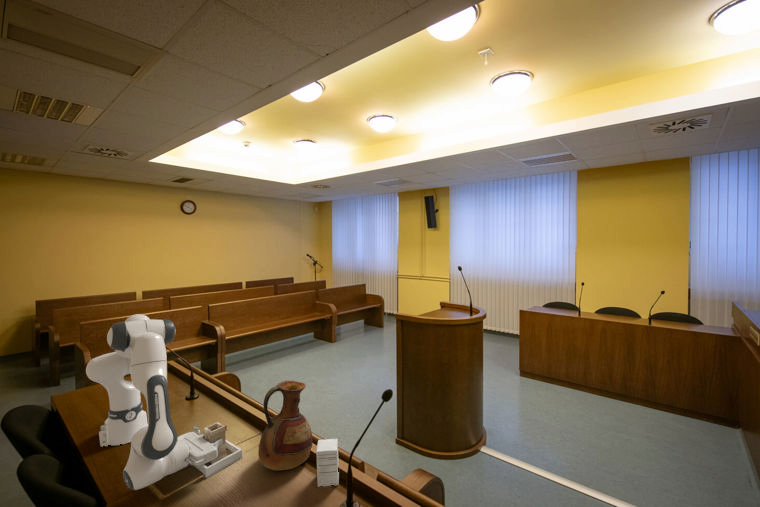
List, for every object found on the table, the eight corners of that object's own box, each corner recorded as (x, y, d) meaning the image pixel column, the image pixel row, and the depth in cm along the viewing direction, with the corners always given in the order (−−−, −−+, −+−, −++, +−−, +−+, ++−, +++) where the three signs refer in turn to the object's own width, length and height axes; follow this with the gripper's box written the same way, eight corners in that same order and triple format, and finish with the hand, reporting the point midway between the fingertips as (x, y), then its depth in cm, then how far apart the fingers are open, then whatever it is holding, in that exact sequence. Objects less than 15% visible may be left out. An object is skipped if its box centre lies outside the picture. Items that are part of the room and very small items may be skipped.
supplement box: (318, 473, 124) (317, 439, 123) (339, 471, 124) (338, 437, 124) (316, 487, 116) (315, 451, 116) (338, 485, 117) (337, 449, 117)
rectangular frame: (188, 464, 131) (188, 455, 131) (223, 446, 142) (223, 438, 142) (206, 478, 122) (206, 468, 122) (242, 458, 134) (241, 449, 134)
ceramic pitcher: (318, 467, 127) (316, 388, 126) (262, 485, 118) (259, 401, 117) (305, 440, 145) (303, 371, 144) (256, 454, 136) (253, 381, 135)
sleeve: (204, 458, 132) (203, 428, 131) (222, 449, 137) (221, 420, 137) (211, 463, 128) (210, 432, 128) (229, 454, 134) (229, 424, 134)
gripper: (192, 457, 115) (230, 438, 126) (167, 438, 128) (204, 422, 139) (193, 475, 115) (231, 454, 127) (167, 454, 128) (204, 437, 139)
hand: (217, 437), depth 133 cm, fingers open, 6 cm apart
